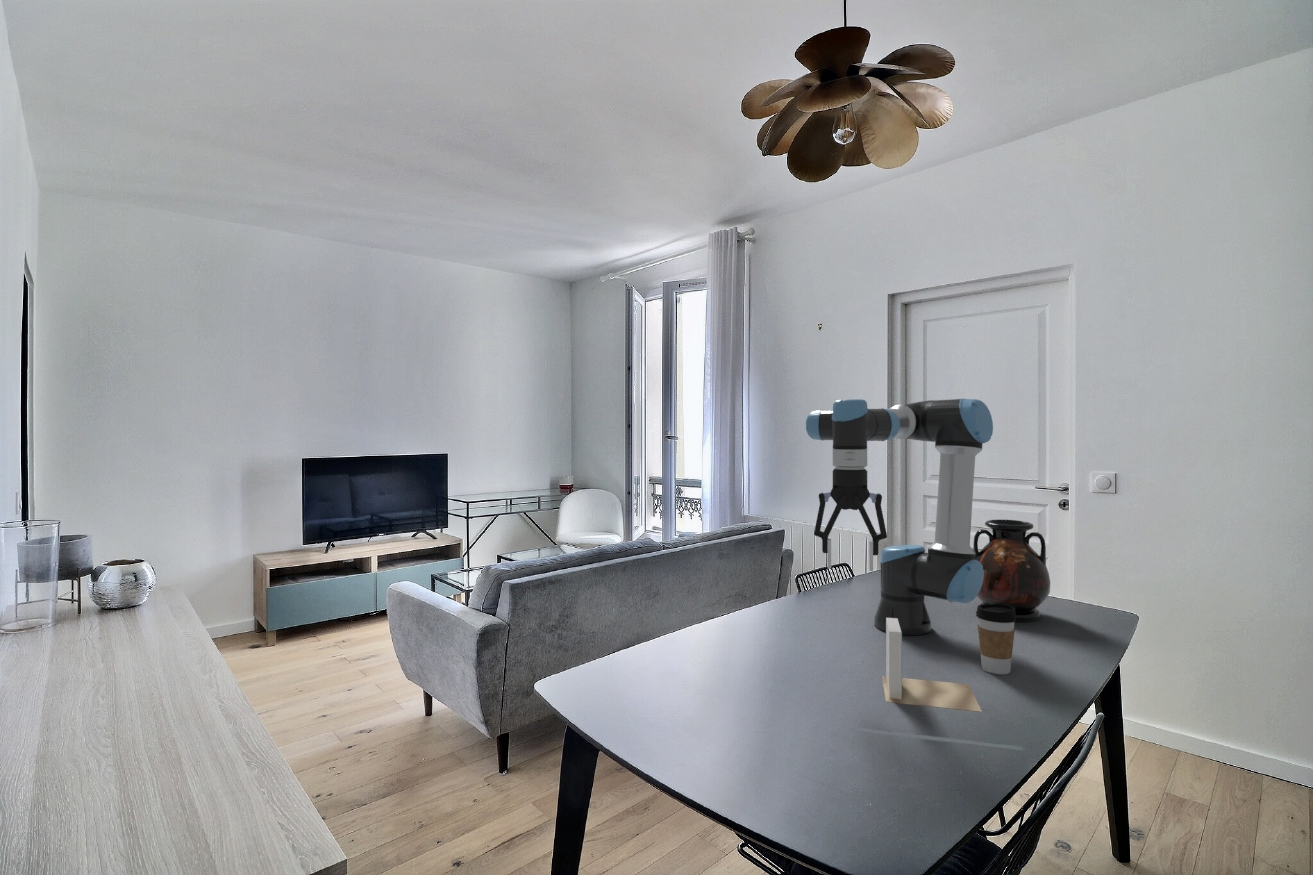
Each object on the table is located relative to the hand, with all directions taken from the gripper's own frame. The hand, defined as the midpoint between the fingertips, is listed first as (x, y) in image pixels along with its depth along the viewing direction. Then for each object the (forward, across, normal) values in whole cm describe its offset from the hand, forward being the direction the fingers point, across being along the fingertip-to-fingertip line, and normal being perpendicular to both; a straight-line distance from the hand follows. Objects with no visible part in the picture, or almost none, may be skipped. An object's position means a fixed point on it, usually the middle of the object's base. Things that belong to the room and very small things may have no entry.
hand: (850, 568), depth 145 cm
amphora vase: (+26, +47, +64) cm, 83 cm away
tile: (+25, +9, -4) cm, 27 cm away
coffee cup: (+26, +33, +15) cm, 44 cm away
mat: (+25, +16, -4) cm, 30 cm away
